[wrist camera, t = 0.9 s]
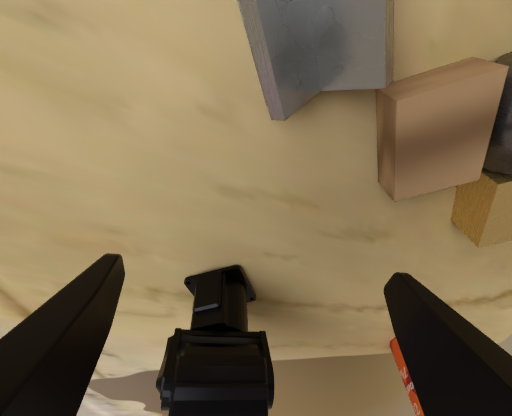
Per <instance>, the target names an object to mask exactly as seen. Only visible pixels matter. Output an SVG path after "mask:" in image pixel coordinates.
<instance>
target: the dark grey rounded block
mask: <svg viewBox="0 0 512 416" xmlns="http://www.w3.org/2000/svg"><path fill="white" fill-rule="evenodd" d="M496 63H498V64H502V65H506V66H509V68H508V72H507V75H506V79H505V83H504V87H503V91H502V95H501V98H500V102H499V106H498V110H497V114H496V118H495V121H494V125H493V129H492V133H491V137H490V141H489V144H488V148H487V152H486V156H485V160H484V163H483V168H486V169H488V170H491V171H494V172H498V173H504V174H512V52H509V53H506V54H504V55H502V56H501V57H499V58H498V59H497V61H496Z"/></svg>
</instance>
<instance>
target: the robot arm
mask: <svg viewBox="0 0 512 416" xmlns="http://www.w3.org/2000/svg"><path fill="white" fill-rule="evenodd" d="M124 278H125V270H124V265H123V259H122V256H121V255H120V254H110V253H107V254H105V255H103V256H102V257H101V258H100V259H98V260H97V261H96V262H95V263H93V264H92V265H91V266H90V267H88V268H87V269H86V270H85V271H84V272H82V273H81V274H80V275H79V276H77V277H76V278H75V279H74V280H72V281H71V282H70V283H69V284H67V285H66V286H65V287H64V288H63V289H61V290H60V291H59V292H58V293H56V294H55V295H54V296H53V297H51V298H50V299H49V300H48V301H47V302H45V303H44V304H43V305H42V306H40V307H39V308H38V309H37V310H35V311H34V312H33V313H32V314H30V315H29V316H28V317H27V318H26V319H24V320H23V321H22V322H21V323H19V324H18V325H17V326H16V327H14V328H13V329H12V330H11V331H10V332H8V333H7V334H6V335H5V336H3V337H2V338H1V339H0V416H76V415H77V412H78V410H79V407H80V405H81V402H82V400H83V397H84V395H85V392H86V390H87V387H88V385H89V382H90V380H91V377H92V375H93V372H94V370H95V367H96V365H97V362H98V359H99V357H100V354H101V352H102V349H103V347H104V344H105V342H106V339H107V337H108V334H109V331H110V329H111V326H112V322H113V319H114V315H115V311H116V308H117V304H118V300H119V297H120V293H121V289H122V286H123V282H124ZM184 284H185V285H186V287H187V288H188V289H189V290H190V292H191V293H192V294H193V295H194V303H193V313H192V321H191V328H190V330H184V329H181V328H176V329H175V333H174V335H173V336H171V337H169V338H168V341H167V346H166V351H165V355H164V359H163V362H162V365H161V368H160V371H159V375H158V378H157V381H156V388H157V390H158V391H159V392H160V394H161V395H160V399H161V400H162V402H161V410H162V411H169V416H268V409H271V408H272V405H273V399H274V374H273V367H272V362H271V357H270V352H269V347H268V342H267V337H266V332H265V331H260V332H248V317H247V303H248V302H252V301H255V300H256V295H255V293H254V291H253V289H252V288H251V286H250V284H249V282H248V280H247V278H246V276H245V275H244V273H243V271H242V269H241V267H240V266H238V265H235V266H231V267H227V268H223V269H219V270H215V271H211V272H207V273H203V274H199V275H195V276H191V277H187V278H185V281H184ZM384 295H385V299H386V303H387V307H388V311H389V314H390V318H391V322H392V326H393V330H394V333H395V336H396V339H397V342H398V345H399V348H400V351H401V353H402V356H403V359H404V362H405V364H406V367H407V370H408V373H409V375H410V378H411V381H412V384H413V386H414V389H415V392H416V395H417V397H418V400H419V403H420V405H421V408H422V411H423V414H424V416H512V356H511V355H510V354H509V353H507V352H506V351H505V350H504V349H502V348H501V347H500V346H499V345H497V344H496V343H495V342H494V341H492V340H491V339H490V338H489V337H487V336H486V335H485V334H484V333H482V332H481V331H480V330H479V329H477V328H476V327H475V326H474V325H472V324H471V323H470V322H468V321H467V320H466V319H465V318H463V317H462V316H461V315H460V314H458V313H457V312H456V311H455V310H453V309H452V308H451V307H450V306H448V305H447V304H446V303H445V302H443V301H442V300H441V299H440V298H438V297H437V296H436V295H435V294H433V293H432V292H431V291H430V290H428V289H427V288H426V287H425V286H423V285H422V284H421V283H420V282H418V281H417V280H416V279H415V278H413V277H412V276H411V275H409V274H408V273H400V272H396V273H394V274H393V275H392V277H391V278H390V279H389V281H388V282H387V284H386V285H385V287H384Z"/></svg>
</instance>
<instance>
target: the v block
mask: <svg viewBox="0 0 512 416" xmlns="http://www.w3.org/2000/svg"><path fill="white" fill-rule="evenodd" d="M238 4H239V8H240V11H241V15H242V18H243V22H244V26H245V29H246V33H247V37H248V40H249V44H250V47H251V51H252V55H253V58H254V62H255V66H256V69H257V73H258V76H259V80H260V84H261V87H262V91H263V94H264V98H265V102H266V105H267V106H268V110H269V113H270V117H271V120H284V121H285V120H286V119H287V118H289V117H290V116H291V115H292V114H293V113H295V112H296V111H297V110H298V109H300V108H301V107H302V106H303V105H305V104H306V103H307V102H308V101H309V100H311V99H312V98H313V97H314V96H316V95H317V94H318V93H319V92H321V91H334V90H358V89H383V88H386V87H387V86H388V85H389V84H390V83H391V82H392V81H393V33H394V0H238Z"/></svg>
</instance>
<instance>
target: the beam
mask: <svg viewBox="0 0 512 416" xmlns="http://www.w3.org/2000/svg"><path fill="white" fill-rule="evenodd" d="M508 68H509V66H506V65H502V64H498V63H494V62H490V61H486V60H482V59H478V58H474V57H471V58H468V59H464V60H461V61H458V62H455V63H452V64H449V65H446V66H443V67H440V68H437V69H433V70H430V71H427V72H424V73H421V74H418V75H415V76H412V77H409V78H405V79H402V80H399V81H396V82H393V83H390V84H389V85H388V86H387V87H386V88H383V89H376V104H377V150H378V182H379V183H380V184H381V186H382V187H383V188H384V190H385V191H386V192H387V193H388V195H389V196H390V197H391V199H392V200H393V201H394V202H396V201H400V200H404V199H408V198H412V197H416V196H419V195H423V194H427V193H431V192H435V191H438V190H442V189H446V188H450V187H454V186H457V185H461V184H465V183H469V182H473V181H476V180H479V179H480V175H481V171H482V167H483V163H484V160H485V156H486V152H487V148H488V144H489V141H490V137H491V133H492V129H493V125H494V121H495V118H496V114H497V110H498V106H499V102H500V98H501V95H502V91H503V87H504V83H505V79H506V75H507V72H508Z"/></svg>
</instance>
